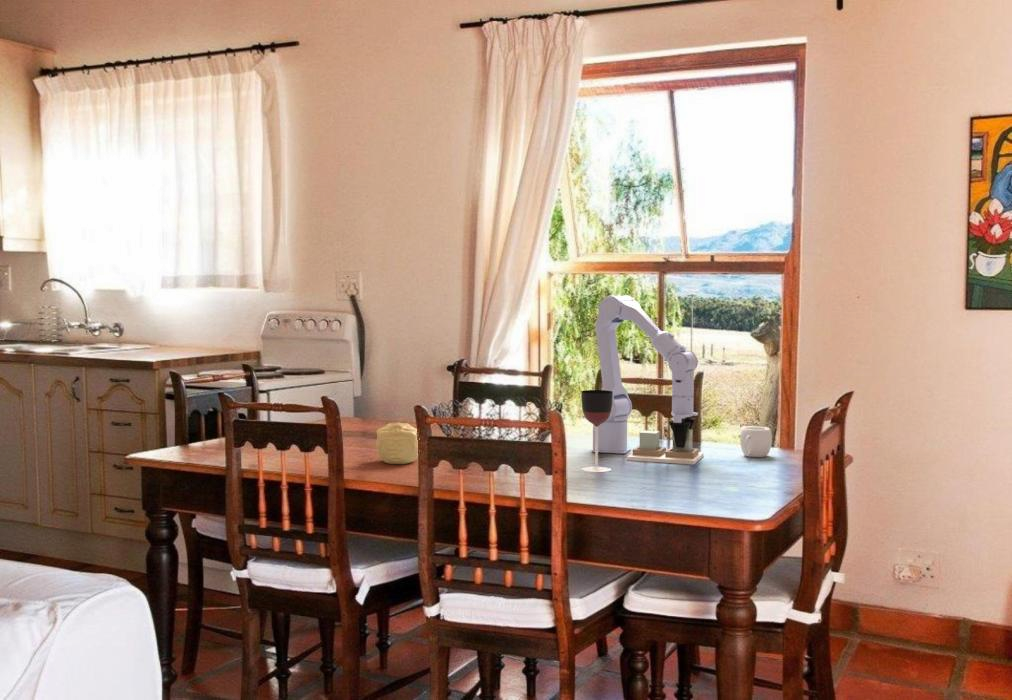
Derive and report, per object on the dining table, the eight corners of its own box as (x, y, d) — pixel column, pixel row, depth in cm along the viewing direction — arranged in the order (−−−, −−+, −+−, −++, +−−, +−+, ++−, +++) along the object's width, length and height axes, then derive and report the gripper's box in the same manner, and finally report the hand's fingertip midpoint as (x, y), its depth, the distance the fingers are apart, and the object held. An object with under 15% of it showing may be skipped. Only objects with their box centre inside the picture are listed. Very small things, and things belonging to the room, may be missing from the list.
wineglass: (585, 472, 262) (585, 393, 261) (577, 466, 271) (577, 390, 270) (615, 472, 264) (616, 393, 262) (607, 465, 272) (607, 389, 271)
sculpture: (373, 466, 271) (373, 425, 271) (379, 458, 283) (379, 419, 283) (417, 466, 271) (417, 425, 270) (422, 458, 283) (421, 419, 282)
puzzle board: (627, 460, 281) (627, 434, 280) (639, 452, 294) (639, 427, 293) (693, 464, 274) (694, 438, 274) (703, 456, 287) (703, 431, 287)
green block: (672, 452, 281) (672, 430, 281) (675, 449, 285) (676, 428, 285) (689, 453, 279) (689, 431, 279) (692, 450, 284) (692, 428, 283)
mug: (746, 452, 294) (747, 425, 293) (775, 455, 289) (776, 427, 289) (730, 458, 284) (730, 429, 283) (760, 461, 279) (760, 432, 279)
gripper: (692, 399, 273) (691, 450, 274) (702, 394, 287) (701, 443, 288) (665, 398, 276) (665, 449, 277) (677, 393, 289) (676, 441, 290)
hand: (682, 446), depth 282 cm, fingers closed on green block, 4 cm apart
